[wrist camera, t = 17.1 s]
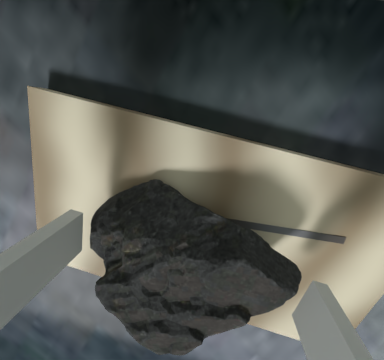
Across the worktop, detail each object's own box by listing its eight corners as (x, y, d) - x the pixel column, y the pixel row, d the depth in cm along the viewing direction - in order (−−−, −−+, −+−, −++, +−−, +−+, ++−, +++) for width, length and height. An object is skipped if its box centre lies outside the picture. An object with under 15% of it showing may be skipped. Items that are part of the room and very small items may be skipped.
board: (52, 245, 19) (38, 256, 17) (47, 88, 14) (26, 85, 12) (326, 332, 17) (336, 353, 15) (433, 186, 12) (463, 197, 10)
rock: (99, 211, 16) (163, 321, 15) (32, 229, 10) (131, 408, 9) (209, 139, 15) (283, 254, 14) (205, 113, 9) (330, 306, 8)
